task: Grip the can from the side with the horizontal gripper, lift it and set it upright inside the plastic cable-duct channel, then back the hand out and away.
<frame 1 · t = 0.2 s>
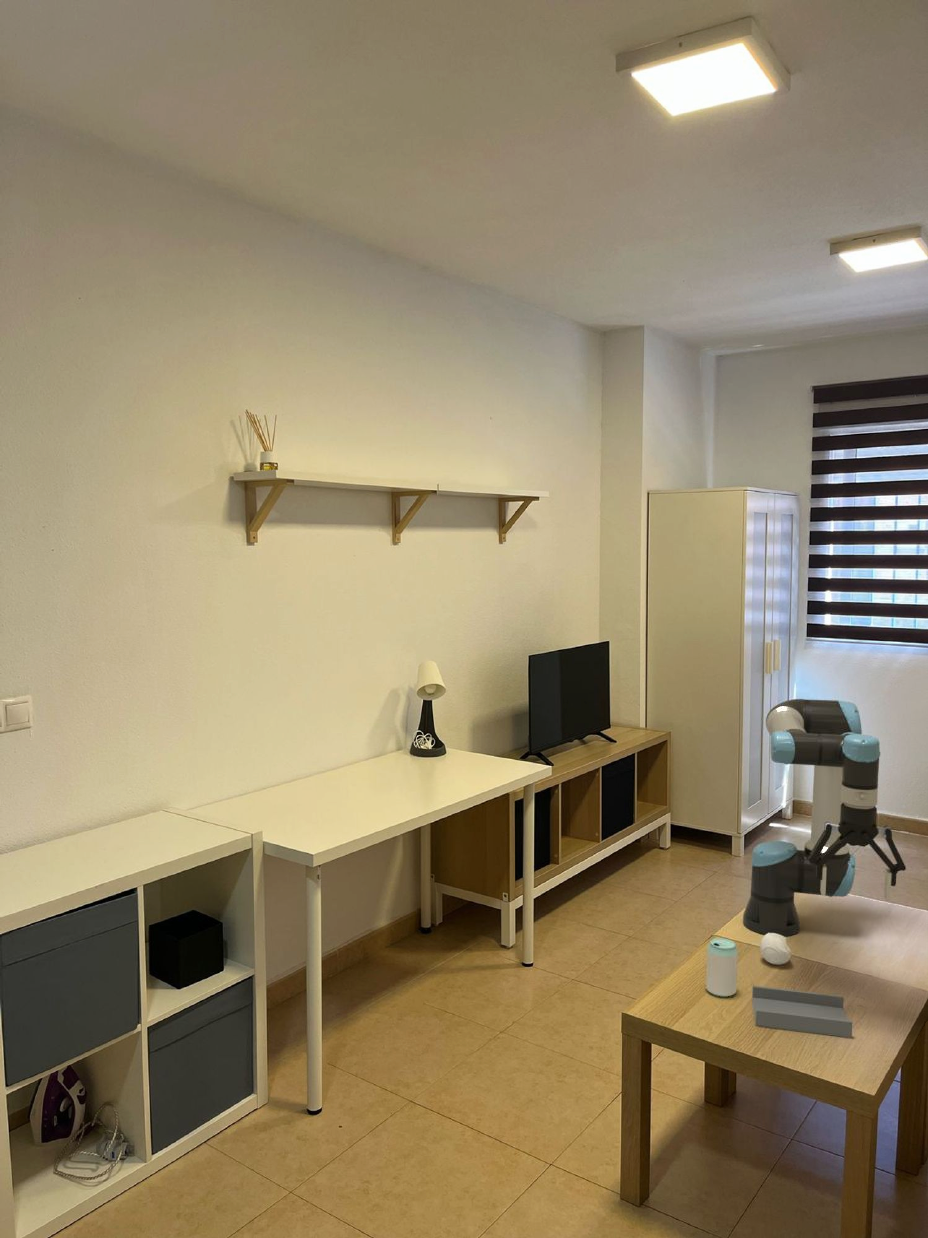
hand: (854, 896, 215), 28 cm above the table, tool pointing down, fingers open, 13 cm apart
cream rounded lump: (774, 964, 244), on the table
can: (720, 992, 228), on the table
duct channel: (799, 1018, 215), on the table
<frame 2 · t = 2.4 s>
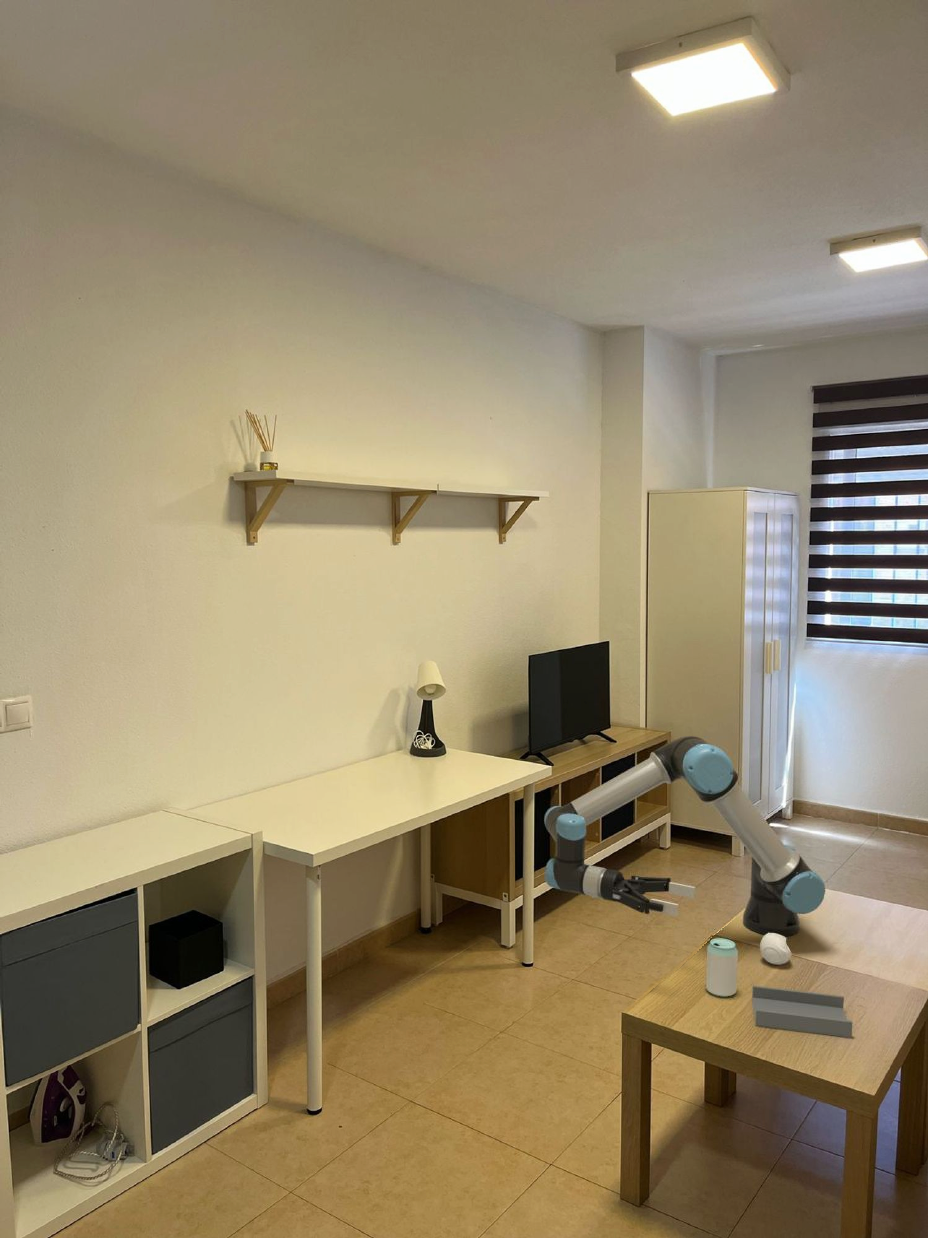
hand: (686, 901, 231), 20 cm above the table, tool horizontal, fingers open, 13 cm apart
nothing on the table moved.
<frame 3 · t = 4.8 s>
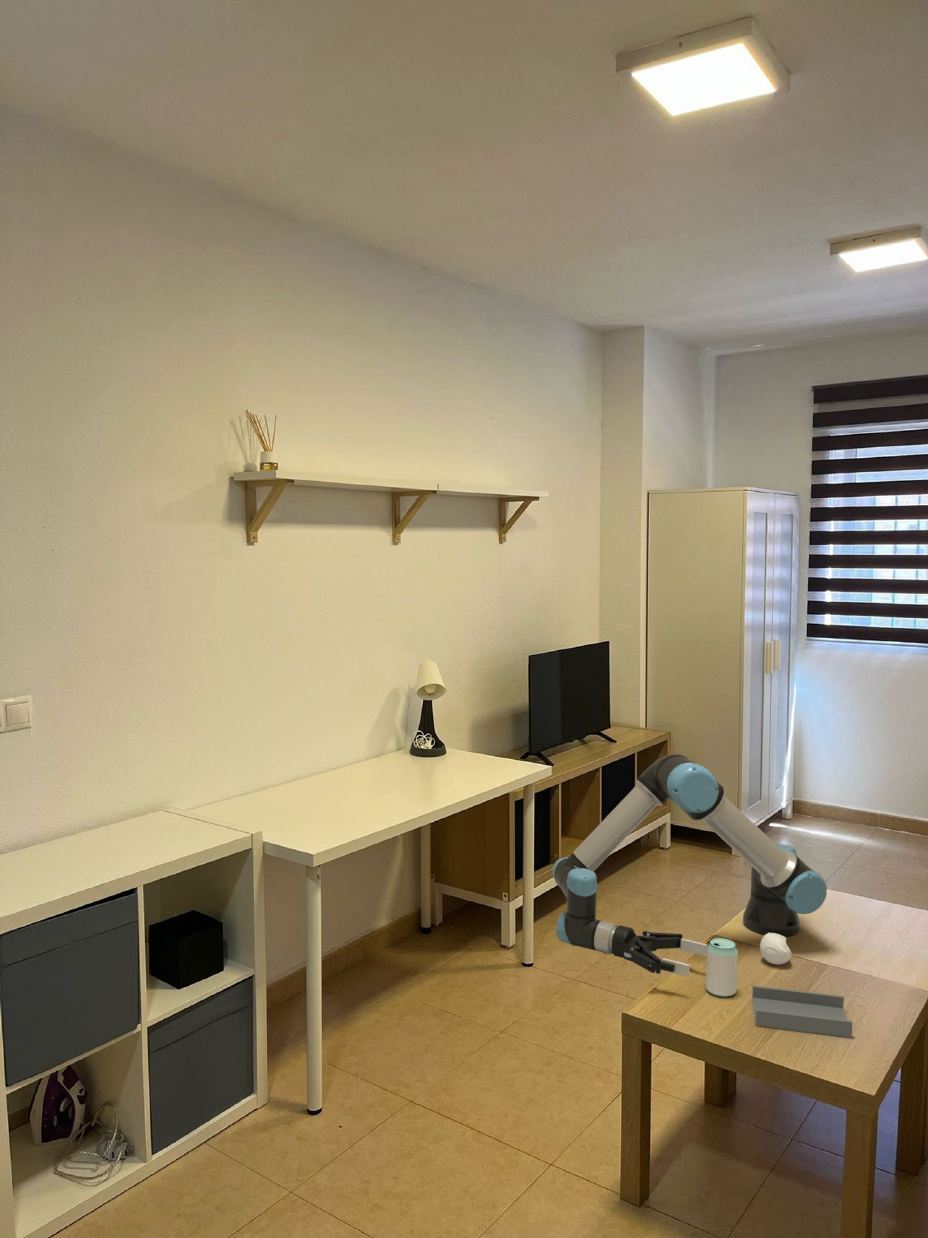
hand: (698, 960, 230), 6 cm above the table, tool horizontal, fingers open, 13 cm apart
nothing on the table moved.
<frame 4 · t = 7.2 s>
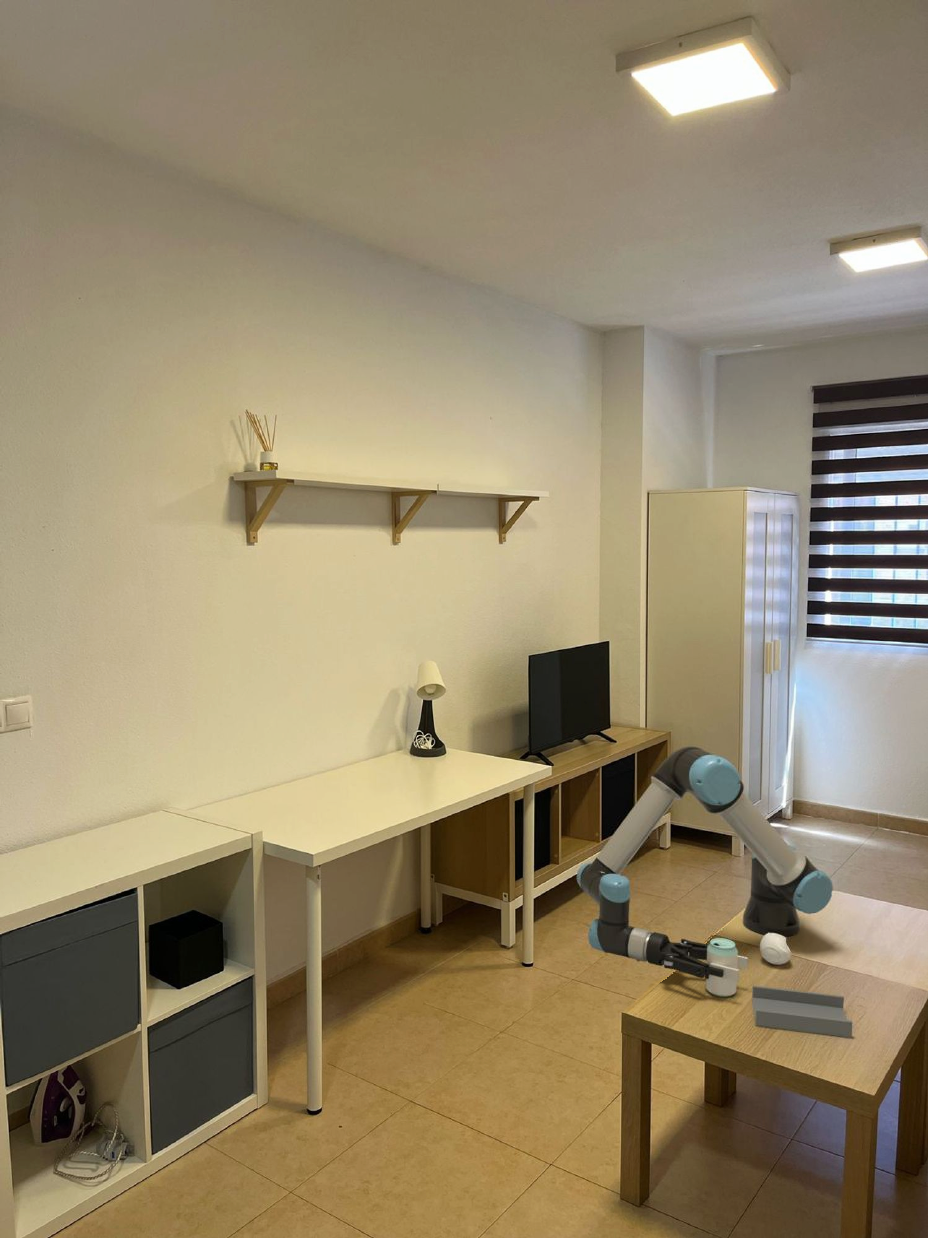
hand: (742, 969, 225), 7 cm above the table, tool horizontal, fingers closed on can, 7 cm apart
can: (720, 992, 228), on the table, touching gripper
everything else where it was.
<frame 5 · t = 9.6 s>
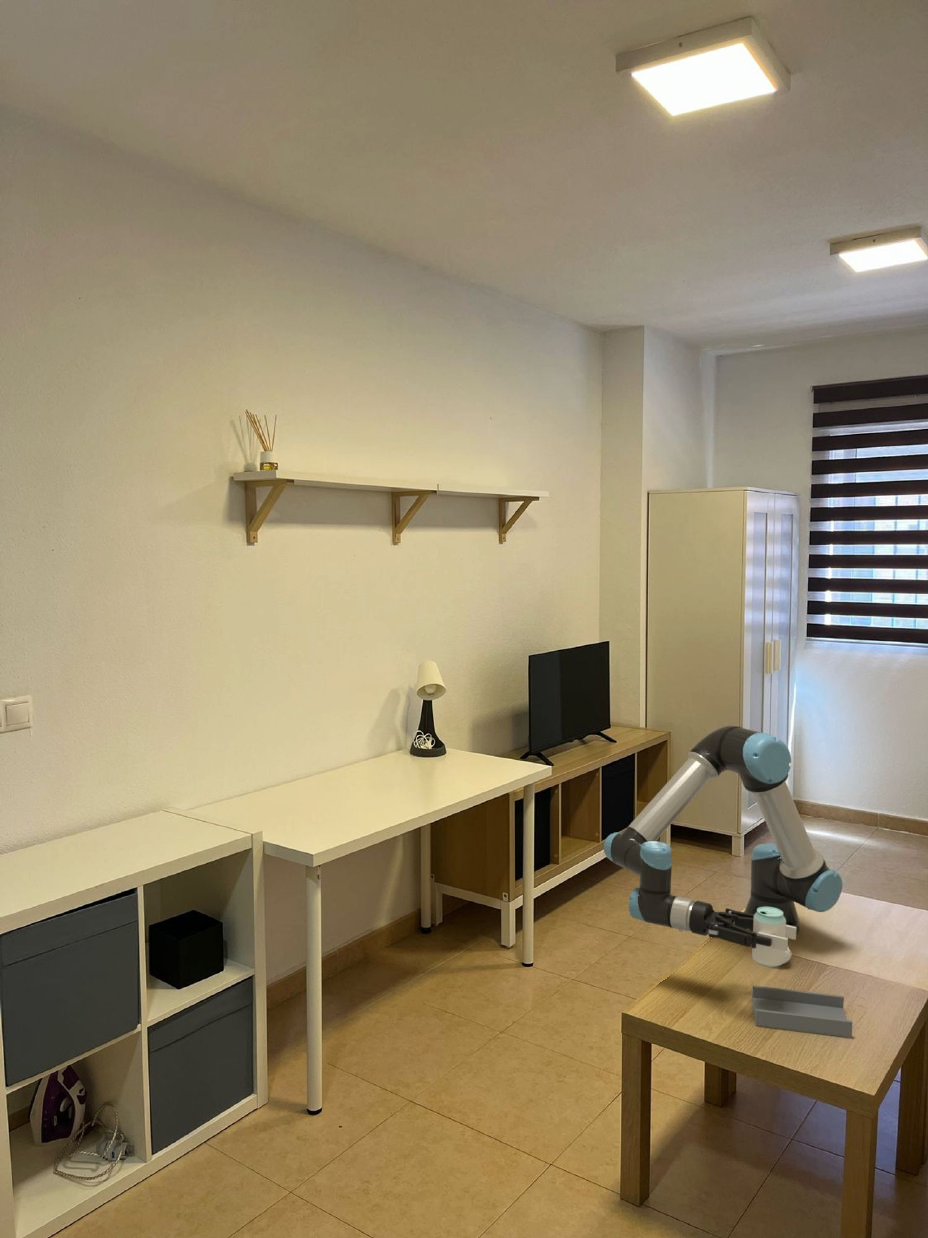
hand: (791, 939, 215), 18 cm above the table, tool horizontal, fingers closed on can, 7 cm apart
can: (767, 963, 219), point 11 cm above the table, touching gripper
everything else where it was.
when the fingers open (9 cm above the table, at t = 12.3 s): can drops 1 cm, resting on duct channel.
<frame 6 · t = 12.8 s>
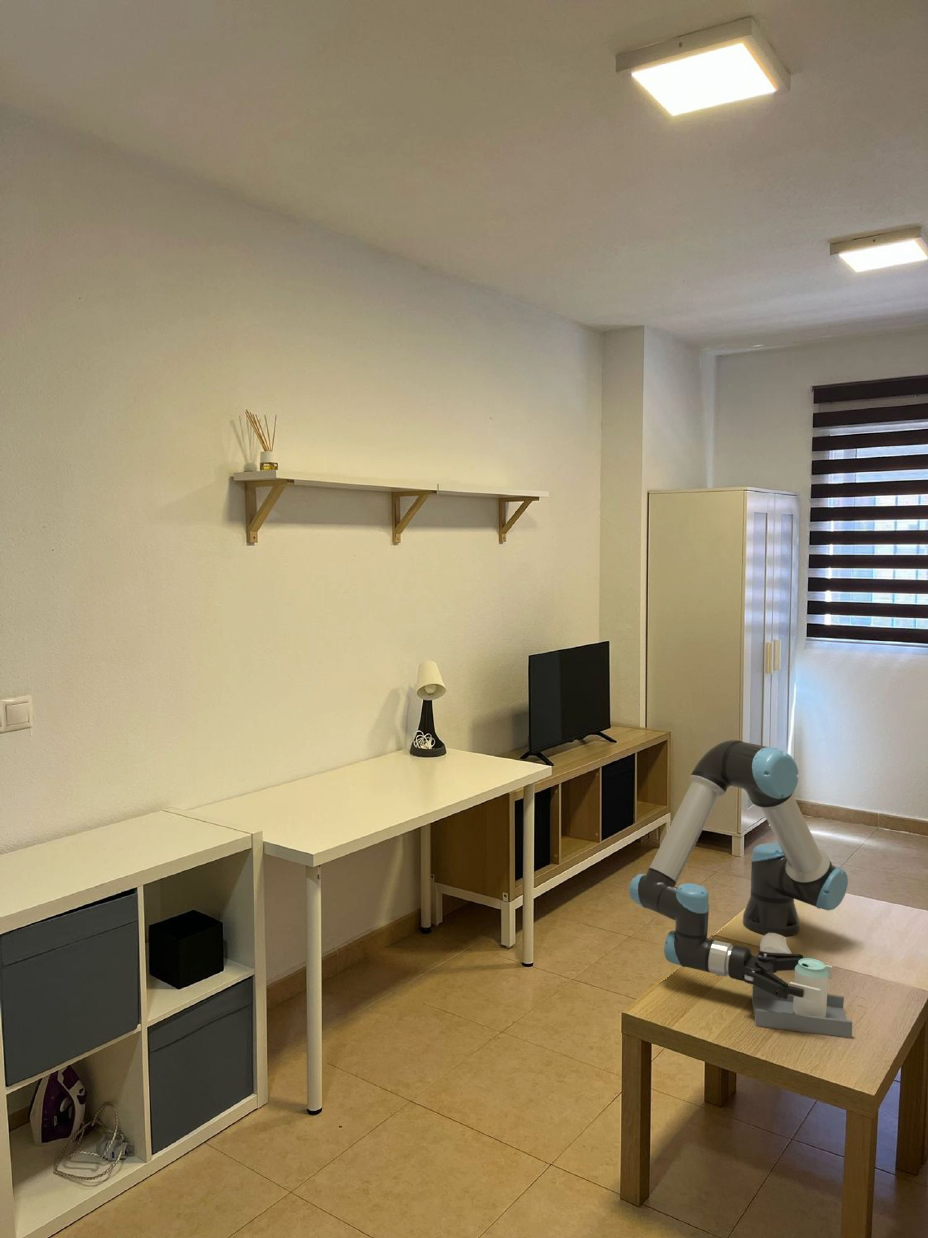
hand: (826, 984, 213), 9 cm above the table, tool horizontal, fingers open, 13 cm apart
can: (809, 1016, 215), point 1 cm above the table, touching duct channel
everything else where it was.
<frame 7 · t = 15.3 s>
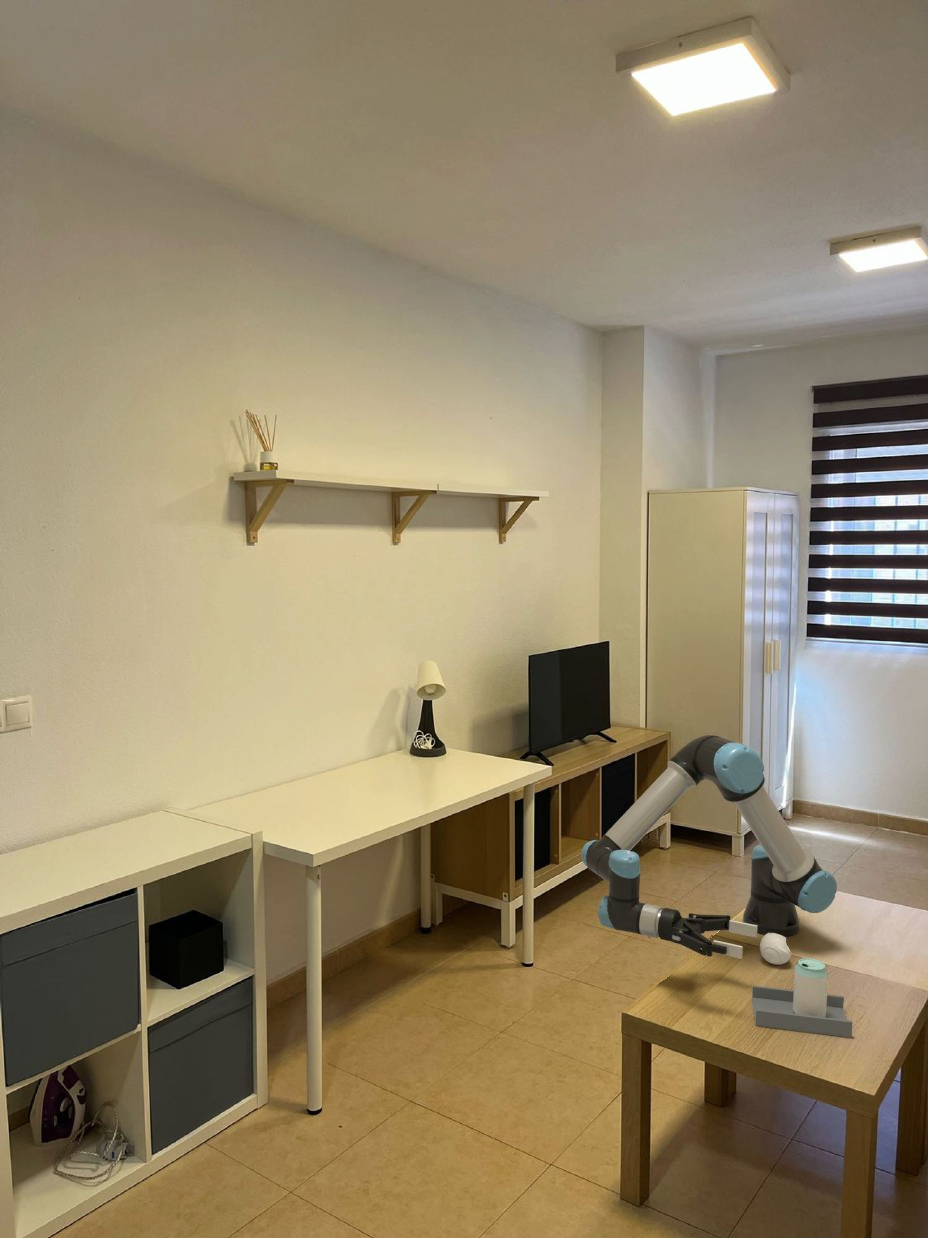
hand: (749, 942, 221), 15 cm above the table, tool horizontal, fingers open, 13 cm apart
nothing on the table moved.
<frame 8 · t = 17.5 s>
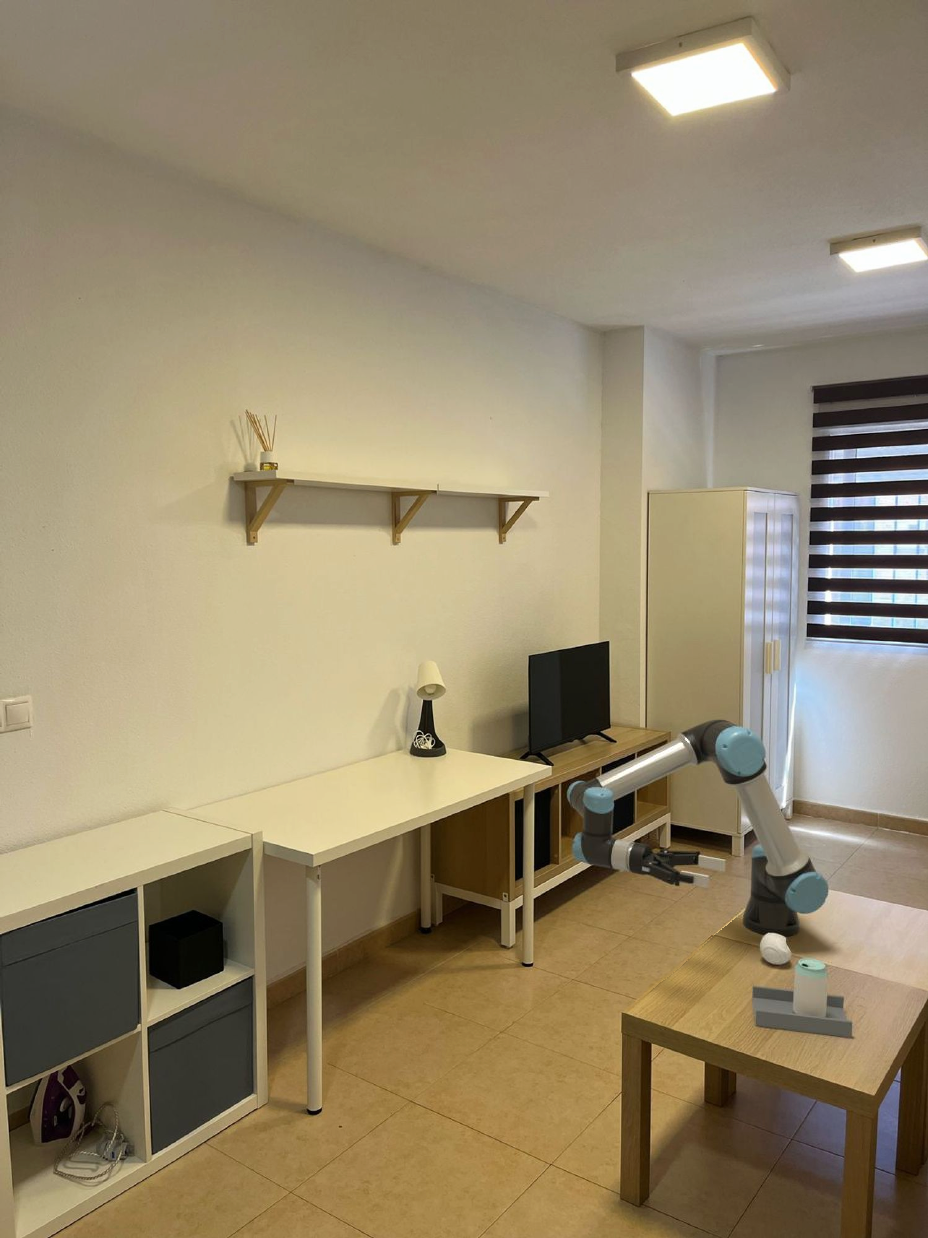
hand: (717, 873, 228), 28 cm above the table, tool horizontal, fingers open, 13 cm apart
nothing on the table moved.
at the end: can inside the target area on the duct channel (2.0 cm from its centre), point 0.8 cm above the duct channel's base; can tilted 0°; the gripper is holding nothing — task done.
